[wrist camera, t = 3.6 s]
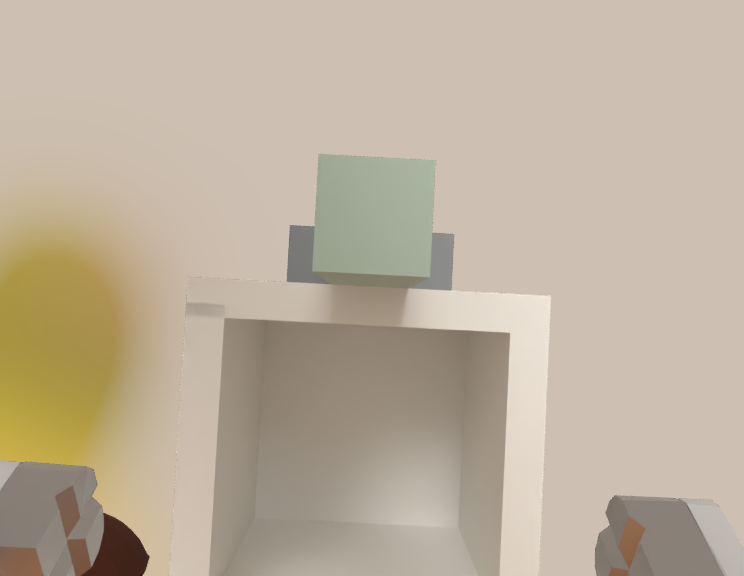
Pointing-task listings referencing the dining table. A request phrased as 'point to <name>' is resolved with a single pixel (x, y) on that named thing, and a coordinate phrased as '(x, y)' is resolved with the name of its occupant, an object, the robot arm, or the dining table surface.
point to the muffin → (119, 552)
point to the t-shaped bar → (372, 227)
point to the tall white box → (359, 431)
